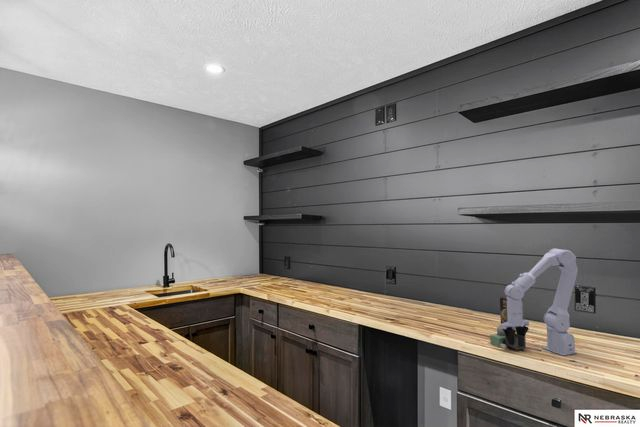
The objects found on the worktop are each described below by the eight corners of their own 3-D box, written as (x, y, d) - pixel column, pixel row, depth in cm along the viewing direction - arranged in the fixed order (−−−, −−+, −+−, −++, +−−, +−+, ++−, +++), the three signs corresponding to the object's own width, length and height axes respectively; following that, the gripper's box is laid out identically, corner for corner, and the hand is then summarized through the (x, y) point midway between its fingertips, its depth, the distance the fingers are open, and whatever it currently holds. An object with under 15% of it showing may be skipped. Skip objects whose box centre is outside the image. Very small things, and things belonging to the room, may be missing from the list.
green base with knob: (520, 346, 154) (520, 330, 154) (504, 349, 151) (503, 333, 151) (506, 341, 161) (506, 326, 161) (490, 343, 158) (489, 328, 158)
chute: (505, 345, 153) (505, 334, 153) (514, 343, 155) (513, 332, 155) (516, 349, 147) (516, 338, 148) (525, 348, 149) (525, 336, 149)
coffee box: (500, 327, 182) (499, 297, 183) (509, 326, 185) (508, 296, 185) (515, 332, 174) (514, 300, 174) (524, 330, 176) (523, 299, 177)
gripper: (509, 316, 145) (511, 348, 145) (535, 312, 150) (536, 344, 149) (496, 312, 152) (497, 343, 151) (520, 309, 157) (521, 339, 156)
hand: (515, 343), depth 151 cm, fingers closed on chute, 5 cm apart
